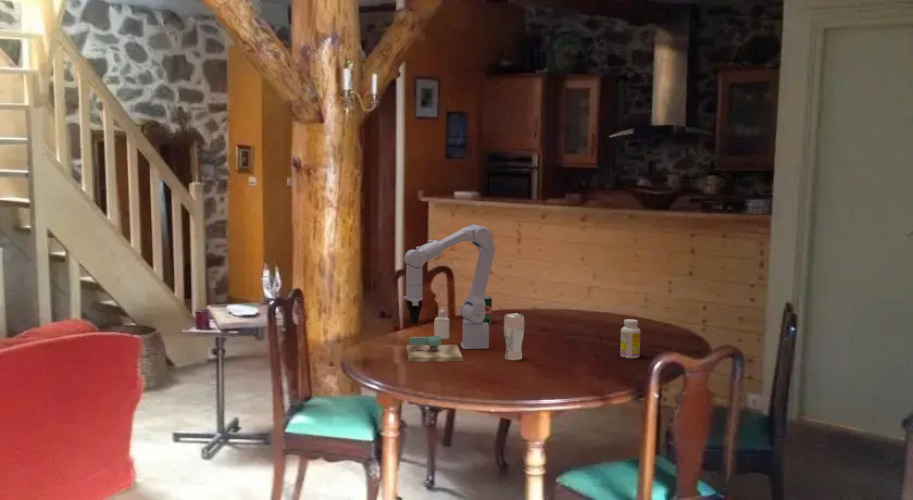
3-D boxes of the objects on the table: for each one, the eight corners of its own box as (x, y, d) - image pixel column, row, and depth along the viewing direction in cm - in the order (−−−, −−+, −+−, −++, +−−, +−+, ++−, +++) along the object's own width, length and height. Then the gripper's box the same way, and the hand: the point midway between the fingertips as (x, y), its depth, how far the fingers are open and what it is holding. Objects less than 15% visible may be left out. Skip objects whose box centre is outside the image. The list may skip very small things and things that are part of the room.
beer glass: (509, 361, 295) (510, 317, 293) (499, 357, 301) (500, 314, 299) (527, 359, 298) (528, 316, 296) (516, 355, 304) (517, 312, 303)
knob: (440, 342, 305) (440, 335, 305) (441, 346, 300) (441, 338, 300) (408, 343, 304) (408, 335, 304) (409, 346, 299) (409, 338, 299)
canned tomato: (473, 320, 363) (474, 294, 362) (492, 321, 362) (492, 295, 361) (471, 324, 355) (471, 298, 354) (490, 325, 354) (491, 298, 353)
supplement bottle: (640, 355, 306) (642, 319, 304) (638, 359, 300) (639, 322, 298) (621, 353, 308) (622, 317, 307) (618, 357, 302) (619, 321, 300)
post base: (456, 348, 313) (456, 339, 312) (462, 361, 295) (462, 351, 294) (406, 349, 311) (406, 339, 310) (408, 361, 293) (409, 351, 293)
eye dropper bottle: (444, 340, 326) (444, 309, 324) (432, 338, 329) (432, 307, 328) (451, 338, 329) (451, 307, 328) (439, 336, 332) (439, 305, 331)
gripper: (402, 281, 312) (401, 318, 314) (403, 287, 298) (403, 326, 299) (421, 280, 313) (421, 318, 314) (424, 287, 298) (424, 326, 300)
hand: (414, 322), depth 307 cm, fingers open, 3 cm apart
